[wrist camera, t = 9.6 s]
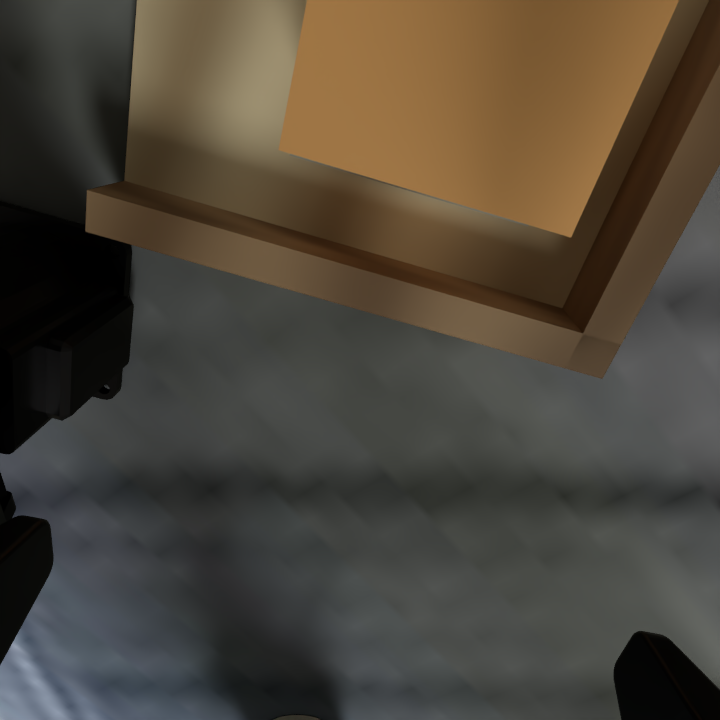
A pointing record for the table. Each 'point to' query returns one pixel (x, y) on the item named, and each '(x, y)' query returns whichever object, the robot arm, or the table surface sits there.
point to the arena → (400, 191)
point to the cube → (473, 96)
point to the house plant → (296, 717)
